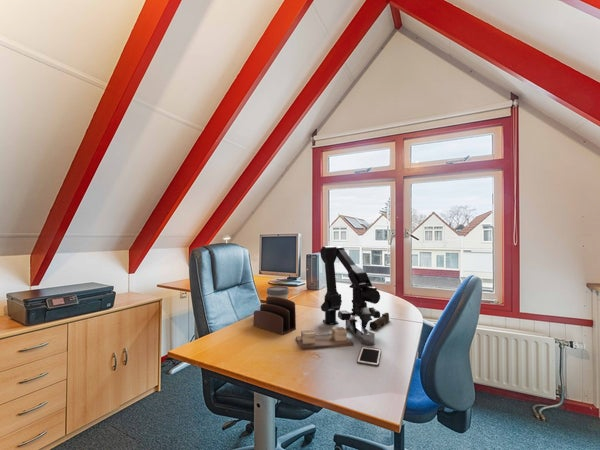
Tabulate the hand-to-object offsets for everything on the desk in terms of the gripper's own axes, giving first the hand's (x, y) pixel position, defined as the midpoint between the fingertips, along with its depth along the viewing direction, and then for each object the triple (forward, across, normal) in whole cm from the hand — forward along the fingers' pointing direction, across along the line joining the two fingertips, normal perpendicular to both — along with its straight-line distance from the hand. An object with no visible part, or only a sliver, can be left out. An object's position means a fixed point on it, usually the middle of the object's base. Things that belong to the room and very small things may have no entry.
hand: (358, 333), depth 130 cm
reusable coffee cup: (+1, -32, +39) cm, 50 cm away
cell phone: (+2, -5, -21) cm, 22 cm away
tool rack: (+1, -18, -4) cm, 18 cm away
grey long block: (+1, 0, 0) cm, 1 cm away
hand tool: (+2, +17, +12) cm, 21 cm away
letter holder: (+1, -36, +18) cm, 41 cm away
